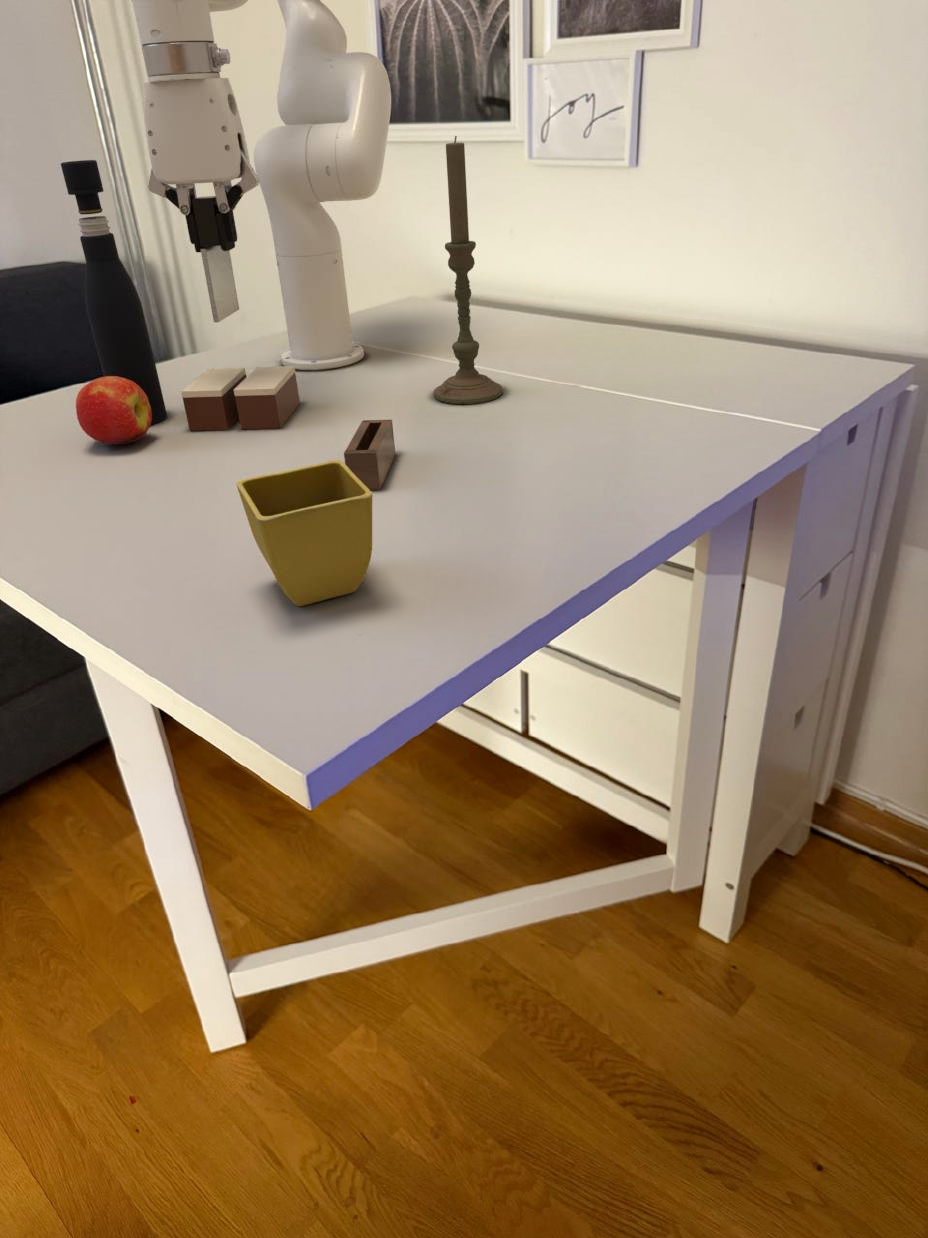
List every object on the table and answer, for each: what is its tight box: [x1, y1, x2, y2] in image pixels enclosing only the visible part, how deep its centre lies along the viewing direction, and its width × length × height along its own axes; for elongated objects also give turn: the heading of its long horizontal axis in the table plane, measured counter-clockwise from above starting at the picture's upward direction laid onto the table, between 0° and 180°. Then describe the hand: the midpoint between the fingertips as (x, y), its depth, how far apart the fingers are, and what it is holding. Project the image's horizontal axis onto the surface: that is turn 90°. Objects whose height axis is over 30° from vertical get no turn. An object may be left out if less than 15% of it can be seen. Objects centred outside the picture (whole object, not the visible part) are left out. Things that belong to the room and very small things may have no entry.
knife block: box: [343, 419, 396, 491], centre depth 95 cm, size 10×3×4 cm, turn 175°
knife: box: [192, 195, 240, 323], centre depth 105 cm, size 8×2×13 cm, turn 175°
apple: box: [75, 376, 152, 446], centre depth 107 cm, size 8×8×8 cm
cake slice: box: [234, 365, 301, 431], centre depth 114 cm, size 10×5×5 cm, turn 175°
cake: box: [180, 367, 247, 432], centre depth 114 cm, size 10×5×5 cm, turn 175°
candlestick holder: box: [433, 135, 504, 405], centre depth 111 cm, size 9×9×30 cm
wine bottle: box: [60, 159, 168, 426], centre depth 109 cm, size 6×6×30 cm
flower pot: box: [235, 459, 373, 607], centre depth 71 cm, size 9×9×9 cm
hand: (215, 248), depth 105 cm, fingers closed on knife, 2 cm apart
